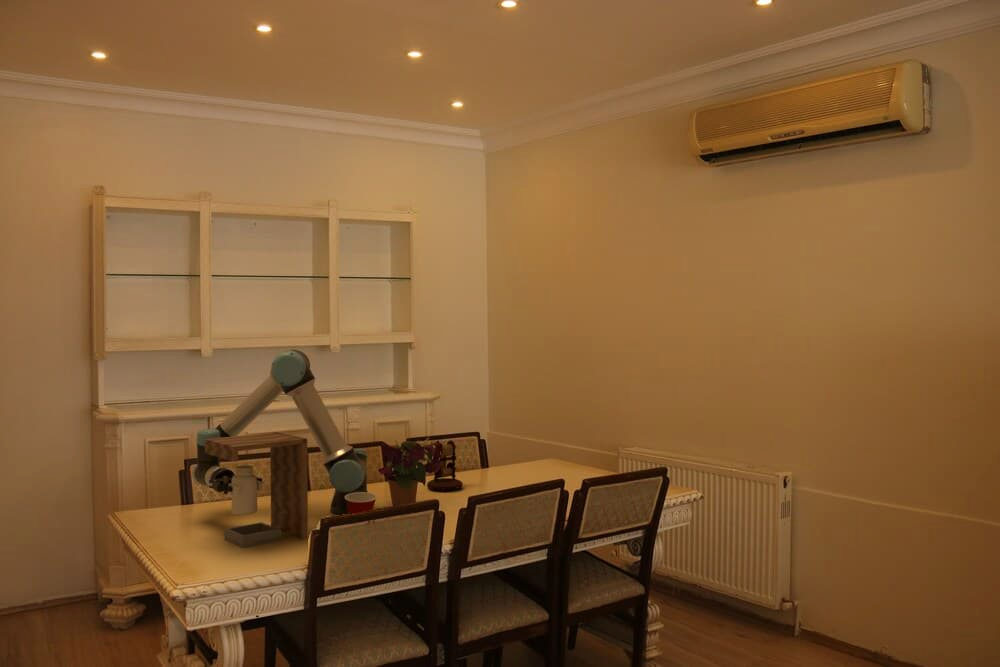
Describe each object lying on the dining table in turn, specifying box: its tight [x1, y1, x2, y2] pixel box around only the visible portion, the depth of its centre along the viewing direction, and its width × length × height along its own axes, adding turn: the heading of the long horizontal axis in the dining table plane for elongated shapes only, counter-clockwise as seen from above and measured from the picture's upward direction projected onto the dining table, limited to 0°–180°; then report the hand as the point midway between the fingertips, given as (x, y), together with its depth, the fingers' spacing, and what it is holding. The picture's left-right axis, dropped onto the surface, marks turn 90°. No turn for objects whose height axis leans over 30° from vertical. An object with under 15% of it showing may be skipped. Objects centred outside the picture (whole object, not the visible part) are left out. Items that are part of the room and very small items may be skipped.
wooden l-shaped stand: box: [205, 431, 309, 540], centre depth 275 cm, size 21×25×32 cm
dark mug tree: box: [426, 439, 464, 493], centre depth 354 cm, size 15×15×20 cm
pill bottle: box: [231, 465, 258, 516], centre depth 277 cm, size 8×8×15 cm
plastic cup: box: [345, 492, 378, 514], centre depth 286 cm, size 11×11×12 cm
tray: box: [223, 521, 282, 549], centre depth 275 cm, size 13×13×4 cm
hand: (251, 488), depth 273 cm, fingers closed on pill bottle, 8 cm apart
